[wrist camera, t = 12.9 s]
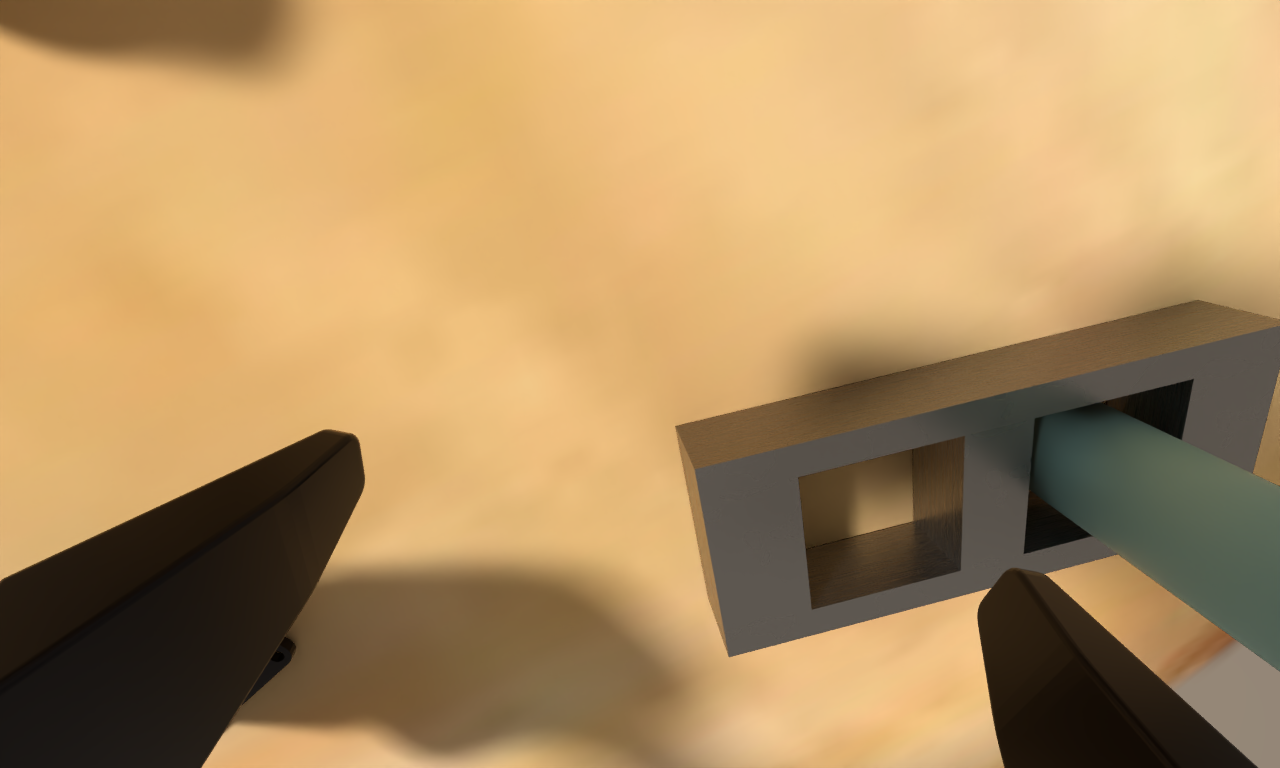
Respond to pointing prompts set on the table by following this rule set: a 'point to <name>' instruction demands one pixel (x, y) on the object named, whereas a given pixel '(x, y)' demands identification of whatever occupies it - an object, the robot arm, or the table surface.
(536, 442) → the table surface
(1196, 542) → the dowel
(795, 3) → the table surface
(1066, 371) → the grey slotted block
